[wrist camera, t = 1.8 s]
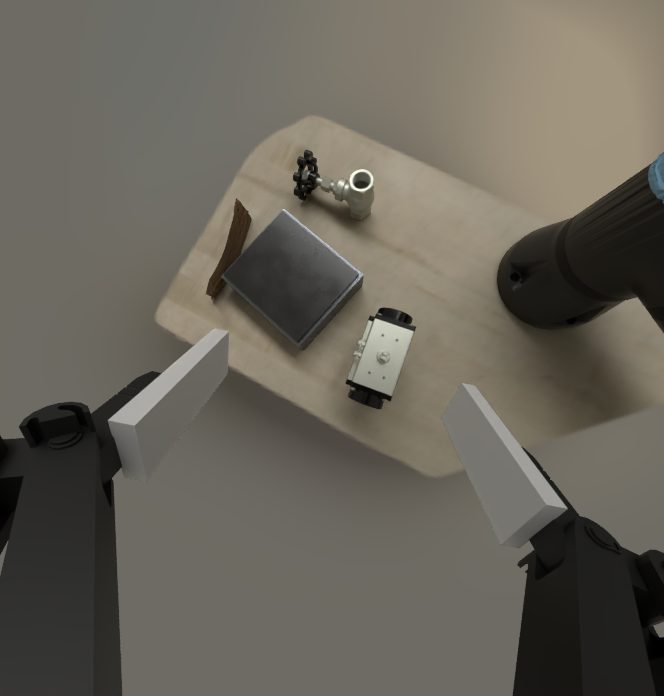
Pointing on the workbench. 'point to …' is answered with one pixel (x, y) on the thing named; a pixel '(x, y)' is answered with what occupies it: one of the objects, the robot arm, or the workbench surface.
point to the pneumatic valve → (380, 357)
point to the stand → (293, 279)
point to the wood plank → (230, 248)
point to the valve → (337, 186)
